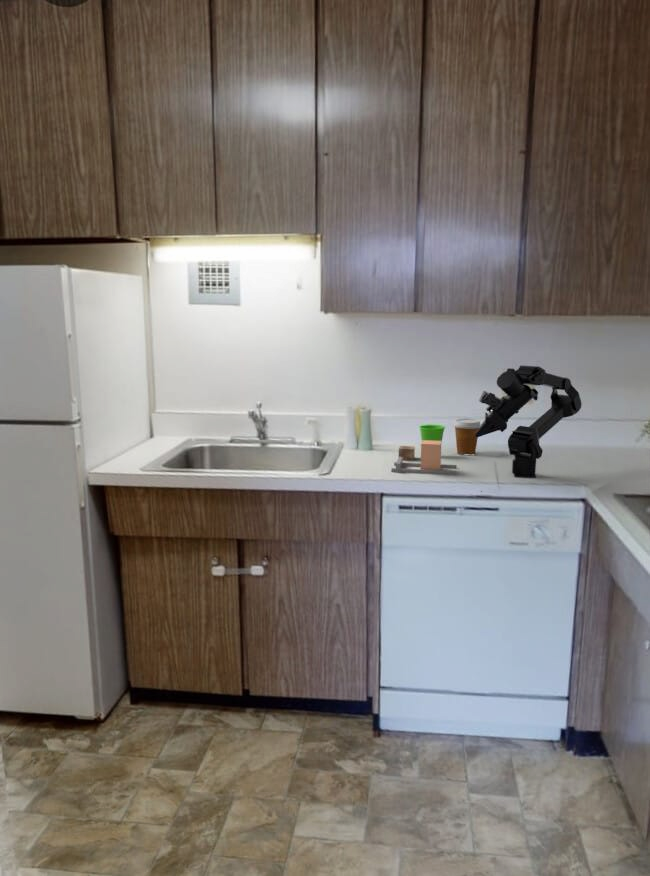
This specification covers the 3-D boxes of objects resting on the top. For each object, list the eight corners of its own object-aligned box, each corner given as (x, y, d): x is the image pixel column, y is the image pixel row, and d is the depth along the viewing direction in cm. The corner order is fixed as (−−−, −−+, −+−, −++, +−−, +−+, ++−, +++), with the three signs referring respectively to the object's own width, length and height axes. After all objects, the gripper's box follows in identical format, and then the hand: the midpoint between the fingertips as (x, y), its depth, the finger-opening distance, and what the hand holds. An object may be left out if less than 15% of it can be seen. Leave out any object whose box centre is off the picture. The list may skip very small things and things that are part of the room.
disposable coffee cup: (447, 453, 241) (448, 421, 239) (461, 449, 248) (462, 417, 246) (471, 457, 235) (472, 423, 232) (484, 453, 242) (485, 420, 240)
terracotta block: (440, 468, 215) (441, 440, 213) (439, 472, 209) (440, 444, 207) (421, 467, 216) (422, 440, 214) (420, 471, 210) (421, 443, 209)
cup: (448, 456, 237) (448, 425, 235) (438, 461, 229) (439, 429, 227) (424, 453, 241) (425, 423, 239) (414, 458, 234) (415, 427, 231)
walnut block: (414, 460, 231) (414, 446, 230) (413, 463, 226) (413, 449, 225) (399, 459, 232) (400, 445, 231) (398, 463, 227) (398, 448, 226)
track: (456, 470, 216) (456, 459, 215) (455, 478, 206) (456, 466, 206) (394, 467, 220) (394, 456, 219) (391, 475, 210) (391, 463, 210)
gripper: (494, 379, 212) (458, 412, 217) (497, 386, 194) (457, 422, 199) (519, 404, 212) (482, 437, 217) (523, 413, 194) (483, 449, 199)
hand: (475, 435), depth 208 cm, fingers closed
